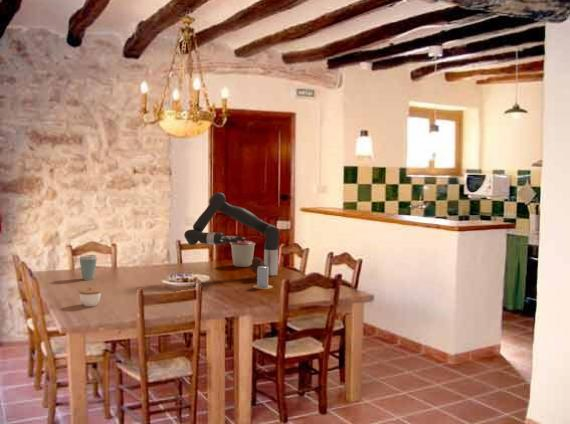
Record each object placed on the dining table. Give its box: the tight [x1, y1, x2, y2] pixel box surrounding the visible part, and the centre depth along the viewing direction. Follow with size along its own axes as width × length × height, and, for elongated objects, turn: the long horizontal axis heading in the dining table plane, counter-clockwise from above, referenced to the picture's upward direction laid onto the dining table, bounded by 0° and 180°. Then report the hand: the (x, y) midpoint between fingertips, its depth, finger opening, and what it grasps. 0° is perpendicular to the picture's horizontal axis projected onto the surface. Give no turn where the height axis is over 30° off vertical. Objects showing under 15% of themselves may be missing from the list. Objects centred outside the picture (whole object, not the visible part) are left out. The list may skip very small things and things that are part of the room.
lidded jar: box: [78, 286, 102, 307], centre depth 310 cm, size 11×11×9 cm
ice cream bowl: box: [249, 256, 267, 281], centre depth 385 cm, size 11×11×15 cm
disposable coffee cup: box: [79, 254, 98, 281], centre depth 376 cm, size 11×11×15 cm
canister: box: [229, 236, 256, 268], centre depth 435 cm, size 18×18×21 cm
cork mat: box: [252, 284, 273, 290], centre depth 363 cm, size 12×12×1 cm
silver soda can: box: [256, 266, 269, 288], centre depth 363 cm, size 6×6×12 cm
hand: (239, 239), depth 370 cm, fingers open, 8 cm apart
